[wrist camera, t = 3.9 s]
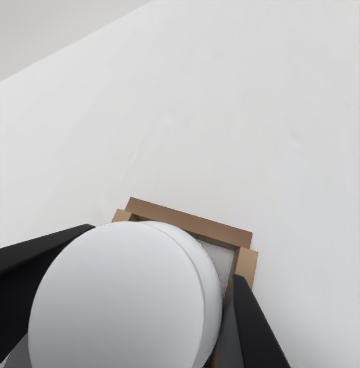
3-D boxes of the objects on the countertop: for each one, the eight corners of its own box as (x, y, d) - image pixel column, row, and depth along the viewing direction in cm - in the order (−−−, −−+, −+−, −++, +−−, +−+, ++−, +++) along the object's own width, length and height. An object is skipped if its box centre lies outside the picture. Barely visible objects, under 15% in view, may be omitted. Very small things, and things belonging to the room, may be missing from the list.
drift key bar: (-2, 462, 11) (-20, 479, 10) (-26, 447, 11) (-46, 462, 10) (74, 295, 14) (65, 297, 13) (54, 286, 14) (44, 287, 13)
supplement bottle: (117, 264, 14) (-13, 242, 5) (190, 231, 15) (179, 164, 6) (142, 356, 12) (-5, 566, 3) (226, 315, 13) (294, 403, 4)
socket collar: (221, 409, 11) (226, 435, 9) (73, 341, 13) (53, 351, 11) (253, 240, 14) (261, 235, 12) (132, 204, 16) (123, 194, 14)
